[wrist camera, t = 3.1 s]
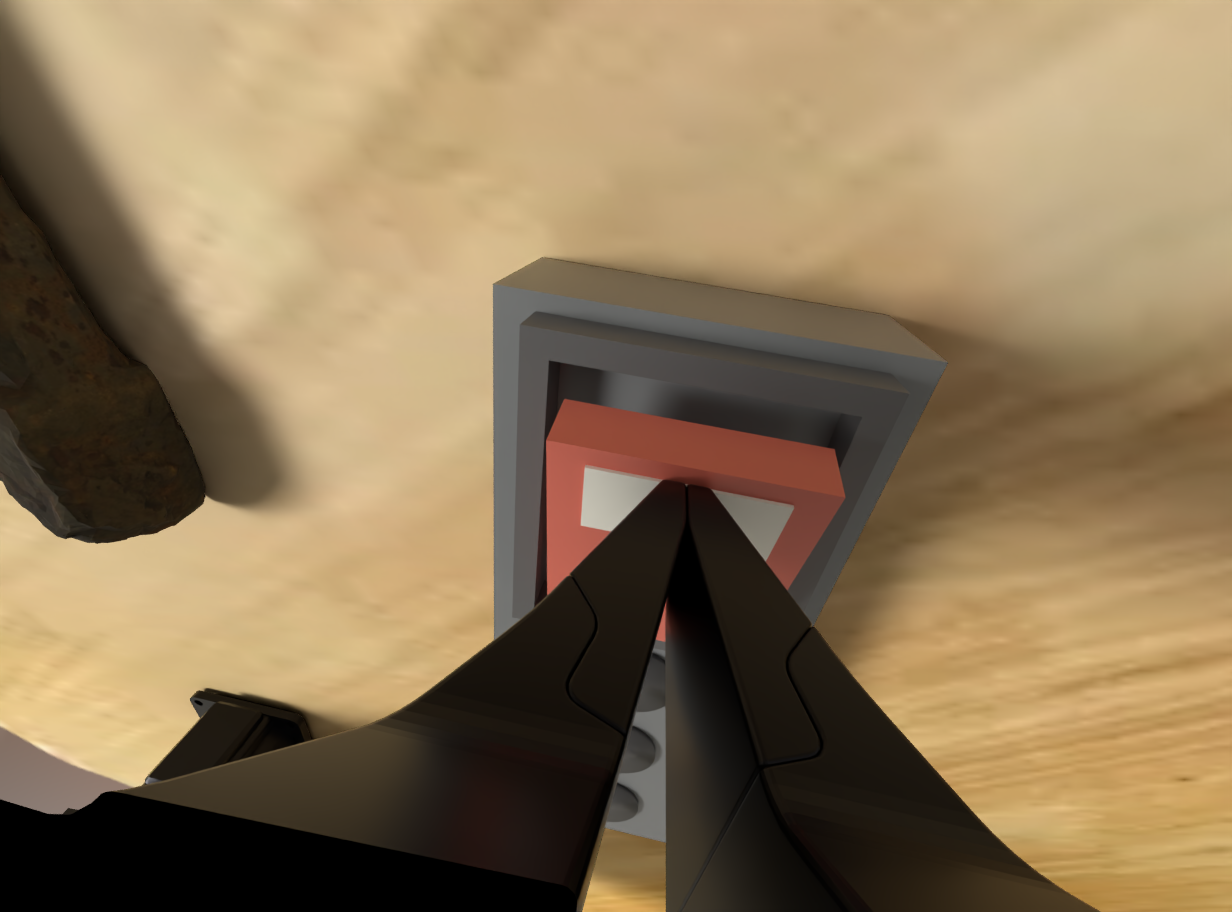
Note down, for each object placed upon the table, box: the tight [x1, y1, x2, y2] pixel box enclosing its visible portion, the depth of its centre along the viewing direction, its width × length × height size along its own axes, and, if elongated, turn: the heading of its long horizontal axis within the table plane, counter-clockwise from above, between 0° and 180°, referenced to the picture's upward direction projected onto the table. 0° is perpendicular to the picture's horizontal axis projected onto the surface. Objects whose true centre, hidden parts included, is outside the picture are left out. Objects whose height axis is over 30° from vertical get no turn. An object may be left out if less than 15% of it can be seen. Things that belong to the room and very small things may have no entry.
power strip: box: [493, 257, 948, 843], centre depth 16 cm, size 22×9×4 cm, turn 172°
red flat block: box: [546, 399, 846, 642], centre depth 11 cm, size 6×5×1 cm
